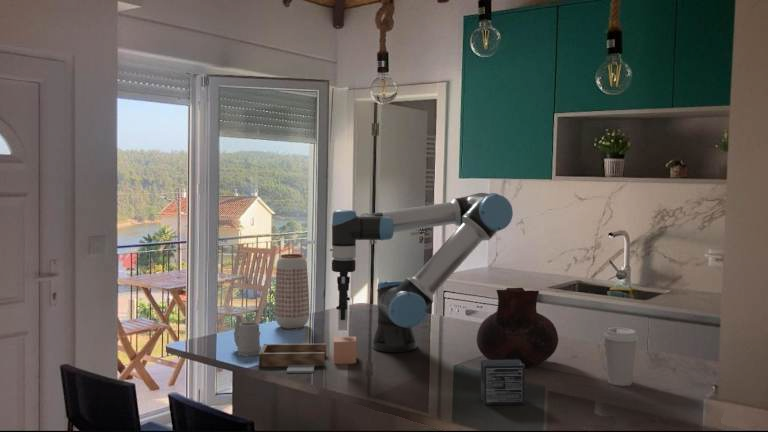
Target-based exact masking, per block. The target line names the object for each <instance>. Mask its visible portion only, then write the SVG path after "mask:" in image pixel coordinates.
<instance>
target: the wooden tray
mask: <svg viewBox="0 0 768 432" xmlns="http://www.w3.org/2000/svg"><path fill="white" fill-rule="evenodd" d="M326 357H327V343H263V346H261V350H260V352H259V354H258V367H259V368H260V367H264V368H266V367H270V368H271V367H274V368H275V367H288V365H309V364H315V367H325V364H326V363H325V358H326Z"/></svg>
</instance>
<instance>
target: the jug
mask: <svg viewBox="0 0 768 432" xmlns="http://www.w3.org/2000/svg"><path fill="white" fill-rule="evenodd" d="M495 291H496V294H497V301H498V302H497V307H496V311H495V312H493V313H492V314H490V315H489V316H487V317H486V318H485V319H484V320H483V321H482V322H481V324H480V325H479V328H478V329H477V333H476V334H477V335H476V345H477V347H478V350H479V352H480V353H481V354H482V355H483V357H485V359H486V360H520V361H521V362H522V363H523V364H524V365H525V366H524V369H529V368H533V367H536V366H539V365H541V364H542V363H544V362H545V361H547V360H548V359H549V358H550V357H552V355H554V353H555V352H556V350H557V347H558V345H559V336H558V335H559V334H558V331H557V328H556V326H555V324H554V323H553V321H551V320H550V319H549V318H548V317H547V316H545V315H543V314H540V313H538V312H537V304H538V301H537V300H538V297H539V294H540V291H539V289H538V290H533V289H532V290H530V289H529V290H525V288H524V287H507V288H506V289H497V290H495Z"/></svg>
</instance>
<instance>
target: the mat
mask: <svg viewBox="0 0 768 432" xmlns="http://www.w3.org/2000/svg"><path fill="white" fill-rule="evenodd" d="M315 367H316V366H315V364H309V365H288V366H287V368H286V373H285V374H309V373H310V374H313V373H314V371H315Z"/></svg>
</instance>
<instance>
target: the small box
mask: <svg viewBox="0 0 768 432" xmlns="http://www.w3.org/2000/svg"><path fill="white" fill-rule="evenodd" d="M524 366H525V365H524V364H523V363H522V362H521V361H520V360H489V359H481V360H480V399H481V401H482V402H483V405H484V406H508V405H509V406H512V405H514V406H515V405H518V406H519V405H520V406H521V405H525V403H526V401H525V368H524Z"/></svg>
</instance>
